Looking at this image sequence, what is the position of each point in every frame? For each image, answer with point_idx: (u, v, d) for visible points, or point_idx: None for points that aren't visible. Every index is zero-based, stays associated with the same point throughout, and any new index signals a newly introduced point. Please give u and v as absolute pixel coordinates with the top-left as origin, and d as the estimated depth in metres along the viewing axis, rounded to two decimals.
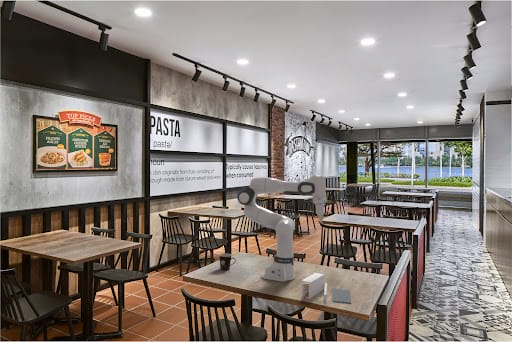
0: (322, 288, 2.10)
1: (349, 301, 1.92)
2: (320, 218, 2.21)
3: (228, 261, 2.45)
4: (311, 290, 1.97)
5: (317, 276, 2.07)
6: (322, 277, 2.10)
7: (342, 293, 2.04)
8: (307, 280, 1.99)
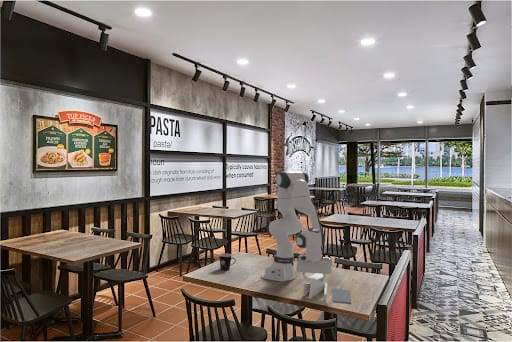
0: (323, 288, 2.10)
1: (349, 301, 1.92)
2: None
3: (228, 261, 2.45)
4: (312, 290, 1.97)
5: (319, 276, 2.06)
6: (324, 277, 2.09)
7: (342, 293, 2.04)
8: (309, 280, 1.99)
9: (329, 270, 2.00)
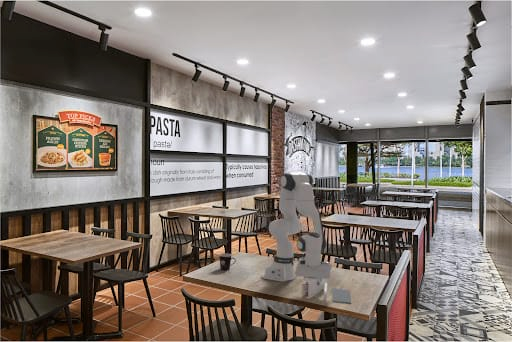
0: (322, 288, 2.10)
1: (349, 301, 1.92)
2: None
3: (228, 261, 2.45)
4: (311, 290, 1.97)
5: None
6: None
7: (342, 293, 2.04)
8: (307, 280, 1.99)
9: (328, 275, 2.01)
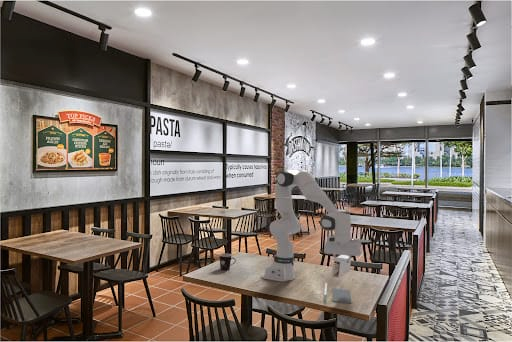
0: (348, 270, 2.06)
1: (349, 301, 1.92)
2: (334, 257, 2.02)
3: (228, 261, 2.45)
4: (341, 270, 1.93)
5: (345, 257, 2.03)
6: (350, 259, 2.06)
7: (342, 293, 2.04)
8: (338, 259, 1.95)
9: (358, 252, 1.97)
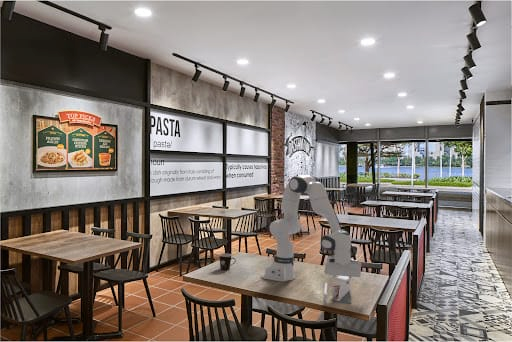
0: (348, 289, 2.06)
1: (349, 301, 1.92)
2: (334, 277, 2.02)
3: (228, 261, 2.45)
4: (341, 292, 1.93)
5: (345, 277, 2.03)
6: None
7: None
8: (337, 282, 1.94)
9: (358, 273, 1.97)
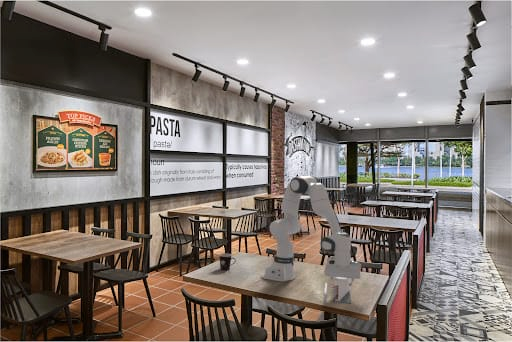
0: (348, 289, 2.06)
1: (349, 301, 1.92)
2: (331, 279, 2.02)
3: (228, 261, 2.45)
4: (341, 292, 1.93)
5: None
6: (348, 278, 2.06)
7: None
8: (336, 282, 1.95)
9: (358, 275, 1.97)
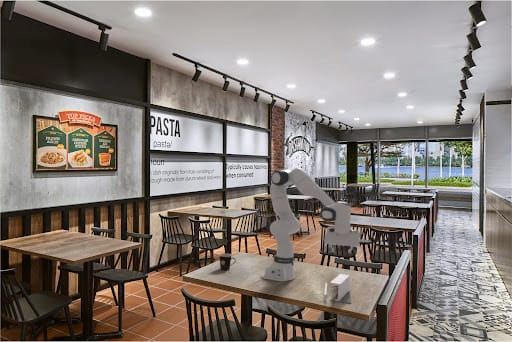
0: (348, 289, 2.06)
1: (349, 301, 1.92)
2: None
3: (228, 261, 2.45)
4: (340, 292, 1.93)
5: (344, 277, 2.03)
6: (348, 278, 2.06)
7: None
8: (336, 282, 1.95)
9: (357, 243, 2.02)
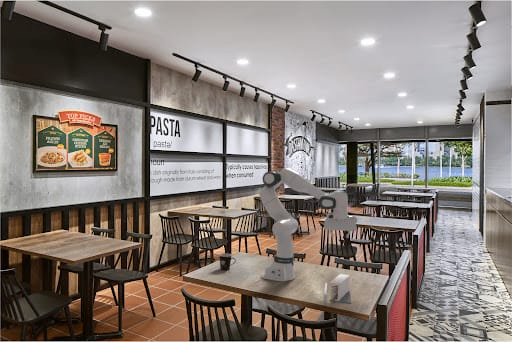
0: (348, 289, 2.06)
1: (349, 301, 1.92)
2: (330, 232, 2.26)
3: (228, 261, 2.45)
4: (340, 292, 1.93)
5: (343, 277, 2.03)
6: (348, 278, 2.06)
7: None
8: (335, 282, 1.95)
9: (354, 227, 2.21)
